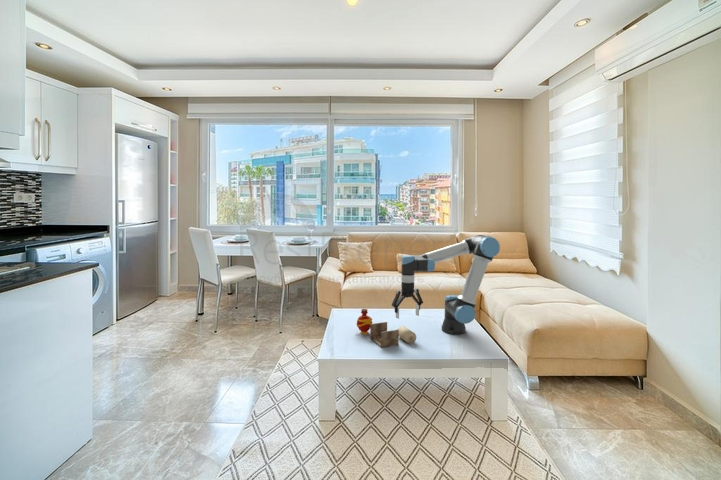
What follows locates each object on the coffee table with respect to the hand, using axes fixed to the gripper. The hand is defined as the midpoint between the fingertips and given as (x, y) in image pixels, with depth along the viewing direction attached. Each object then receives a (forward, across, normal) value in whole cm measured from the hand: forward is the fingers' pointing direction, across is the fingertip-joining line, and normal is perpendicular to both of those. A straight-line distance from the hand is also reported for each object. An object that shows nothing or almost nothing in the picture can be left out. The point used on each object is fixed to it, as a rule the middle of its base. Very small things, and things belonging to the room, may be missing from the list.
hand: (407, 316), depth 207 cm
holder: (+14, +14, -3) cm, 20 cm away
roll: (+15, 0, 0) cm, 15 cm away
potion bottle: (+15, +19, -21) cm, 32 cm away
